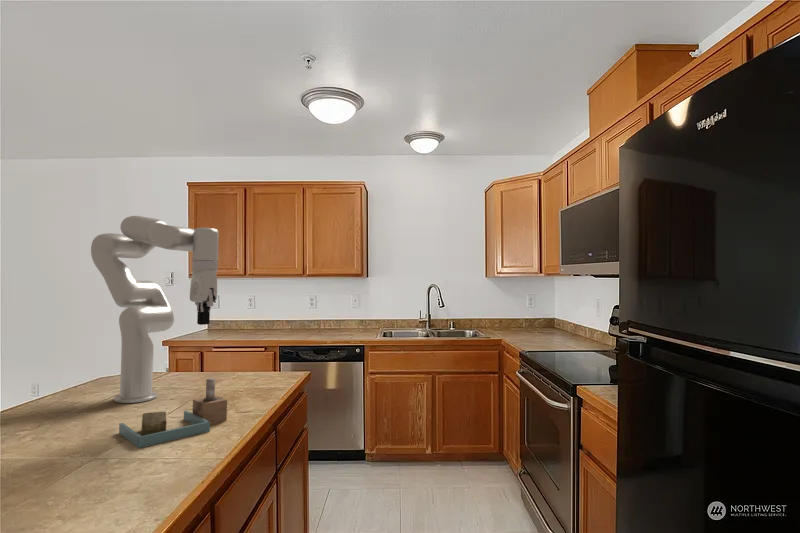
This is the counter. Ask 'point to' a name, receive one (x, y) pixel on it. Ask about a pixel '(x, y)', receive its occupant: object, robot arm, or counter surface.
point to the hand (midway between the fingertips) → (203, 324)
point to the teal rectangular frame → (155, 438)
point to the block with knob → (211, 405)
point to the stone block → (153, 423)
